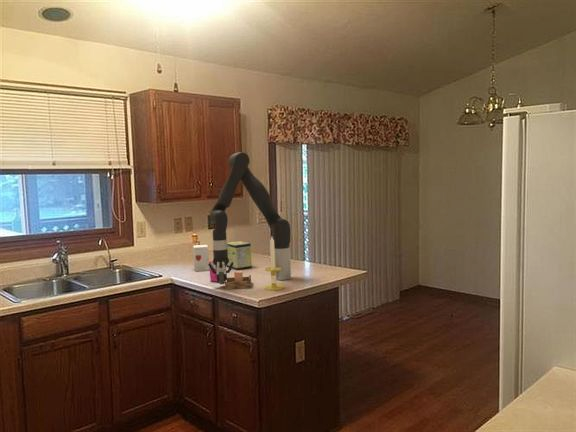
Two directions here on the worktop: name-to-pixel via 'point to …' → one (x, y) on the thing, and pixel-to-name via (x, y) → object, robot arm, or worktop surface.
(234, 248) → the protein box
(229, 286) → the shelf
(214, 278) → the supplement box
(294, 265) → the worktop surface
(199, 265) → the supplement box
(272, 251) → the candle
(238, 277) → the lopsided dumbbell
